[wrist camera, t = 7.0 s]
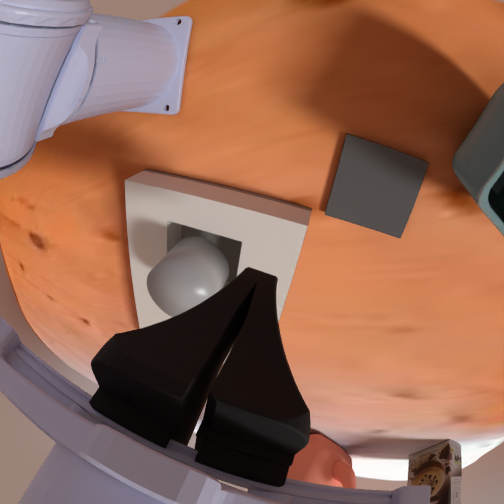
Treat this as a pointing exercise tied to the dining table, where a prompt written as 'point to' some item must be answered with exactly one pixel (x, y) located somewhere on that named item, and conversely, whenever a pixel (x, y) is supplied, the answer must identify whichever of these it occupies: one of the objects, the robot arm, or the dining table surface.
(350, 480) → the teapot
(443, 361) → the dining table surface
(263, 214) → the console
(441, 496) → the coffee box
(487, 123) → the flower pot
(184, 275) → the grey button
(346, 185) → the mat
